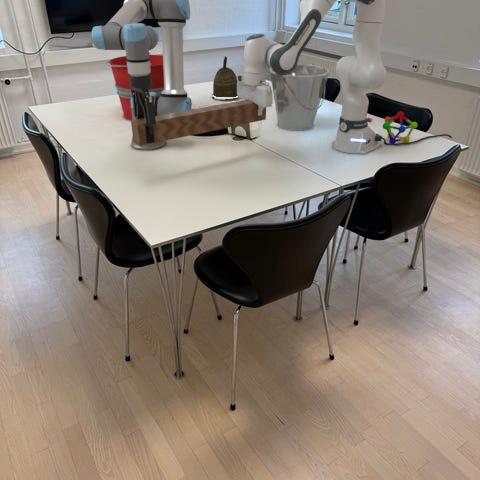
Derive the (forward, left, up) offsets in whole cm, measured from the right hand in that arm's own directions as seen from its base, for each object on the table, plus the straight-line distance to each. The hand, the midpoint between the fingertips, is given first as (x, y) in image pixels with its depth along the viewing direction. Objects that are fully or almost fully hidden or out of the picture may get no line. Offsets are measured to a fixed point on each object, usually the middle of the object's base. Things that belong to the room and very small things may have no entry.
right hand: (254, 113), depth 185 cm
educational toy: (-66, +25, -19) cm, 73 cm away
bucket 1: (+12, -84, -19) cm, 87 cm away
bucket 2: (-45, -23, -19) cm, 54 cm away
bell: (-47, -91, -19) cm, 104 cm away
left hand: (+49, 0, -2) cm, 49 cm away
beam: (+25, 0, -3) cm, 25 cm away
